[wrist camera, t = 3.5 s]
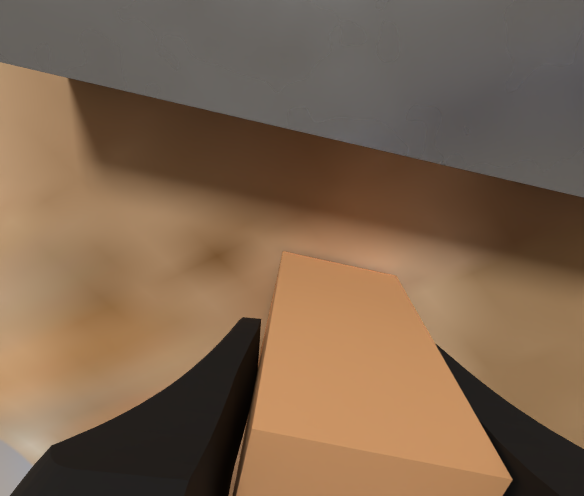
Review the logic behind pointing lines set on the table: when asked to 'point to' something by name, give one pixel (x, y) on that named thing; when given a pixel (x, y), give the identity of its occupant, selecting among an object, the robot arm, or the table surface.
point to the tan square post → (357, 396)
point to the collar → (342, 70)
